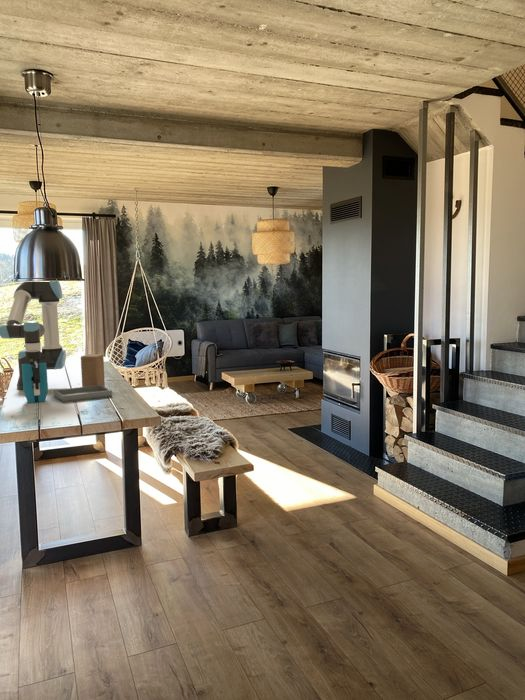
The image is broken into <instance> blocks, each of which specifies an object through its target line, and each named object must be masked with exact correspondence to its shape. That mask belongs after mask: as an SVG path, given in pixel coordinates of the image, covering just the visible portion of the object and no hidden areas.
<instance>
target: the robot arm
mask: <svg viewBox="0 0 525 700" xmlns="http://www.w3.org/2000/svg"><path fill="white" fill-rule="evenodd" d="M62 298H63V291H62V286H61V284H60V281H59V280H58V281H50V282H25V281H24V282H22V283H21V284H19V285H18V287H16V289H15V291H14V293H13V299H14V300H13V303H12V305H11V309H10V311H9V315H8V318H7V321H6V323H5V324H0V338H2V339H8V340H10V339H24V345H23V347H24V348H25V349H23V350H20V351H19V352H18V353H17V355H18V356H17V360H18V375H19V376H18V379H17V384H16V388H17V390H23V379H22V364H30V365H33V367H32V370H33V377H32V387H34V396H36V395H40V386H39V382H40V372H39V363H46V366H47V371H49V370H62V369H63V368H64V367H65V364H66V357H67V356H66V355H67V354H66V350H65V349H63V346H62V345H61V344H60V330H59V319H58V318H59V315H58V304H59V303H60V300H61V299H62ZM32 300H38V303H39V304H40V305H41V312H42V313H41V314H42V315H41V316H42V323H39V321H36V320H35V321H34V320H33V321H31V320H30V321H25V322H24V319H25V314H26V311H27V308H28V305H29V303H31V301H32ZM23 322H24V323H23ZM42 337H43V346H42V345H41V338H42ZM41 346H42V347H41ZM33 368H34V369H33Z"/></svg>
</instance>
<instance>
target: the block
mask: <svg viewBox="0 0 525 700" xmlns="http://www.w3.org/2000/svg"><path fill="white" fill-rule="evenodd" d="M32 367H33V365H30V364H22V379H23V389H22V391H23V394H24V396H25V398H26V401H27V403H28V404H32V403H35V402H38V403H41V402H45V401H46V398H47V394H48V391H49V385H48V370H47V366H46V363H39V372H40V382H39V386H40V395H36V396H34V387H32V377H33V370H32ZM33 369H34V368H33Z"/></svg>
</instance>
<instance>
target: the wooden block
mask: <svg viewBox="0 0 525 700" xmlns="http://www.w3.org/2000/svg"><path fill="white" fill-rule="evenodd" d="M104 363H105V362H104V355H103V354H99V353H98V354H97V353H95V354H93V353H92V354H91V353H89V354H85V355H81V356H80V368H81V369H80V370H81V387H87V386H96V385H101V386H104V387H105V385H106V384H105V383H106V382H105V381H106V380H105V364H104Z"/></svg>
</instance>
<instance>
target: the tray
mask: <svg viewBox="0 0 525 700" xmlns="http://www.w3.org/2000/svg"><path fill="white" fill-rule="evenodd" d="M53 397H54V398H56V399H57V400H58V401H60V402H62V403H64V404H65V403H72V402H73V403H74V402H81V401H88V400H89V401H90V400H96V399H97V400H98V399H105V398H112V397H113V391H112V389H110V388H108V387H104V386H101V385H96V386H87V387H82V386H79V387H72V388H63V389H54V390H53Z"/></svg>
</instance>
